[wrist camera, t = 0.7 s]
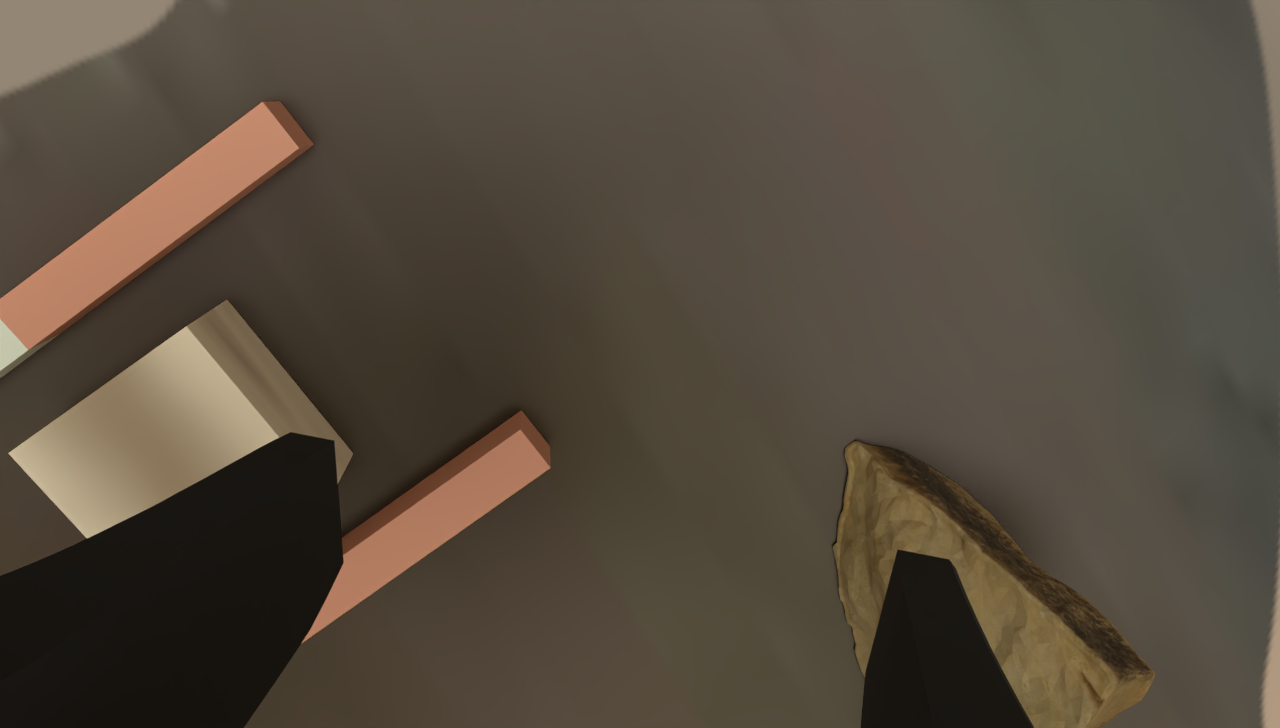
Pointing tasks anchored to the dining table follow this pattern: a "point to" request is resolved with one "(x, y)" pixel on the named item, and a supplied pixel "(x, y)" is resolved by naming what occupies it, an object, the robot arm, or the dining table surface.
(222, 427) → the maple block
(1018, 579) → the rock
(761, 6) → the dining table surface
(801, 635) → the dining table surface
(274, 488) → the robot arm
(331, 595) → the pink-beige flat slab
